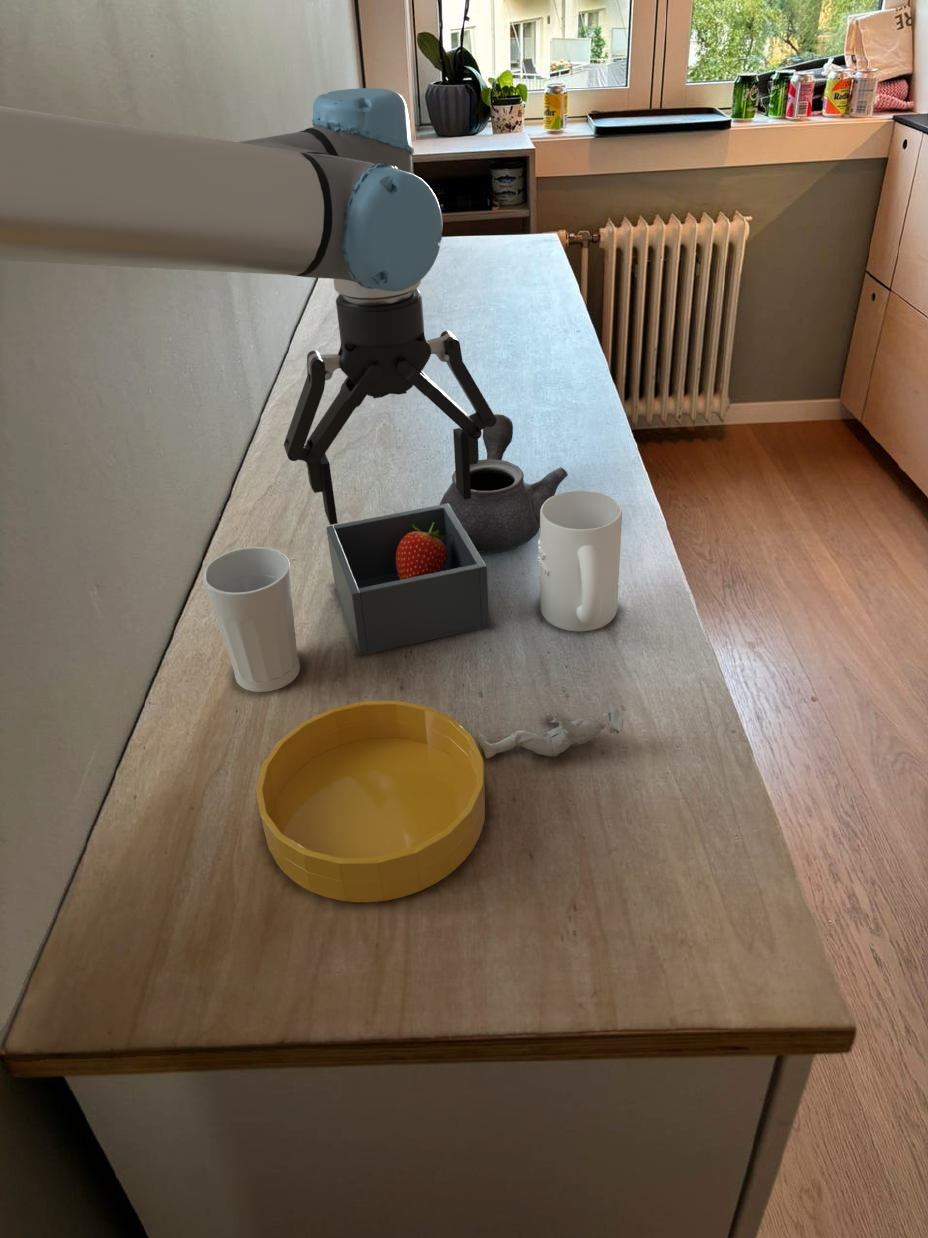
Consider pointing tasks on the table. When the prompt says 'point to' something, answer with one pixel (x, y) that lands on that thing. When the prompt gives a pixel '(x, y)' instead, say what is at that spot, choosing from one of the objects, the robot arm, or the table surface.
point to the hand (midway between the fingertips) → (398, 505)
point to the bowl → (372, 800)
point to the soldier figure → (555, 735)
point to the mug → (579, 559)
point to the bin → (406, 581)
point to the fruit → (420, 554)
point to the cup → (255, 615)
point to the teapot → (500, 496)
